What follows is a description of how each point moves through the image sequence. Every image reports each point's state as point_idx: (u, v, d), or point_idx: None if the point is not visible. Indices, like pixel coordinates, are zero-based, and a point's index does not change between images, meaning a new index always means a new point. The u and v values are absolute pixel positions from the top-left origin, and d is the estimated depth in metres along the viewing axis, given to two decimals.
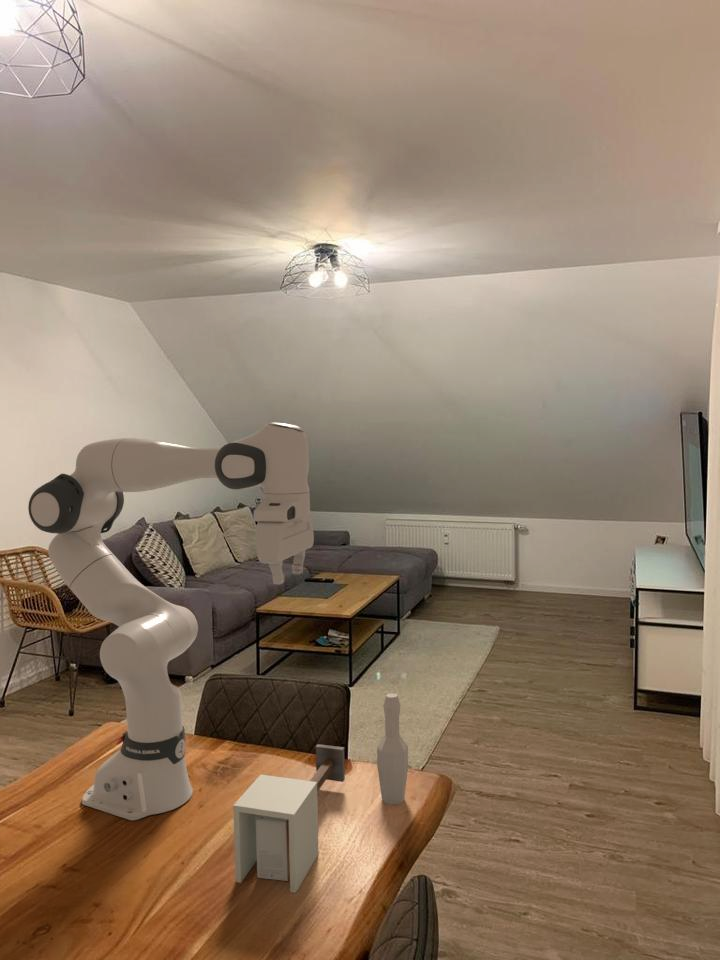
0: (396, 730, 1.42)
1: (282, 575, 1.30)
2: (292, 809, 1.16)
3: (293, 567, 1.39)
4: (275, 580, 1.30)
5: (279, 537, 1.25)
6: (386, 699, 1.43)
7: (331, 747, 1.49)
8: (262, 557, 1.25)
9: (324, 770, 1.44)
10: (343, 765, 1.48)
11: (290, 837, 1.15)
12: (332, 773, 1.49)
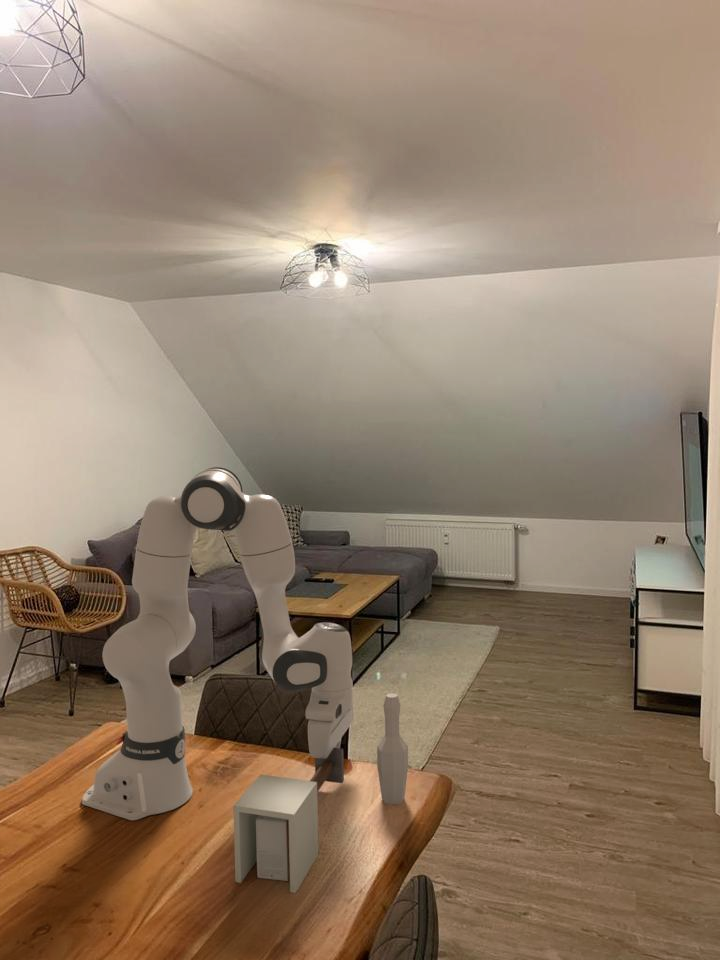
0: (396, 730, 1.42)
1: None
2: (292, 809, 1.16)
3: None
4: None
5: (329, 736, 1.42)
6: (386, 699, 1.43)
7: None
8: (313, 753, 1.42)
9: (323, 771, 1.43)
10: (342, 767, 1.48)
11: (290, 837, 1.15)
12: (331, 774, 1.48)
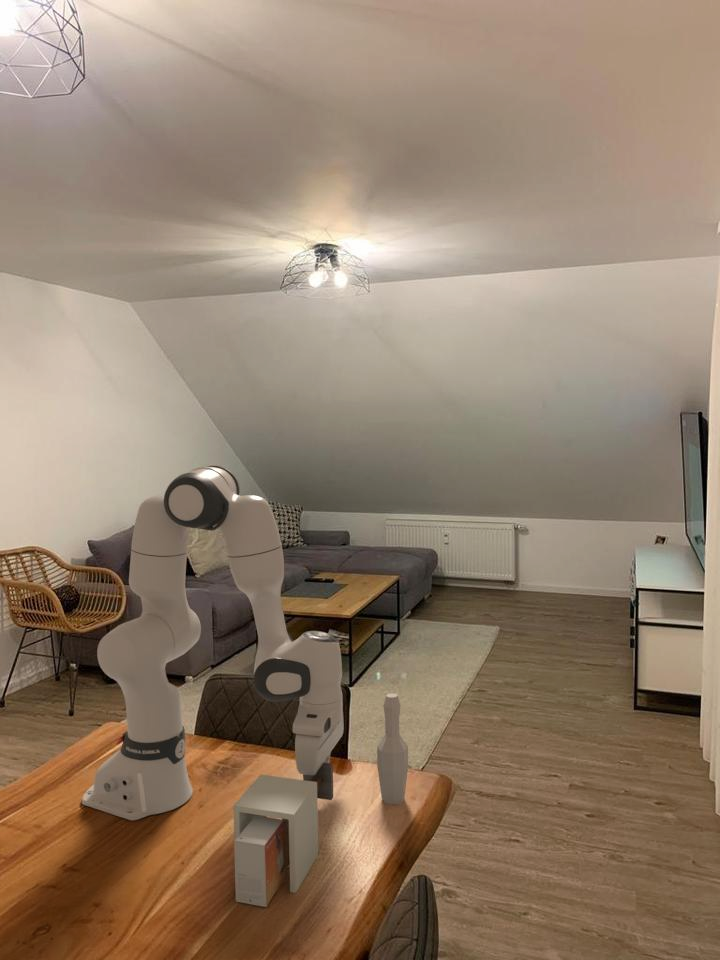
0: (396, 730, 1.42)
1: None
2: (292, 809, 1.16)
3: None
4: None
5: (317, 751, 1.35)
6: (386, 699, 1.43)
7: None
8: (301, 770, 1.35)
9: None
10: (331, 783, 1.41)
11: (290, 837, 1.15)
12: (320, 791, 1.41)
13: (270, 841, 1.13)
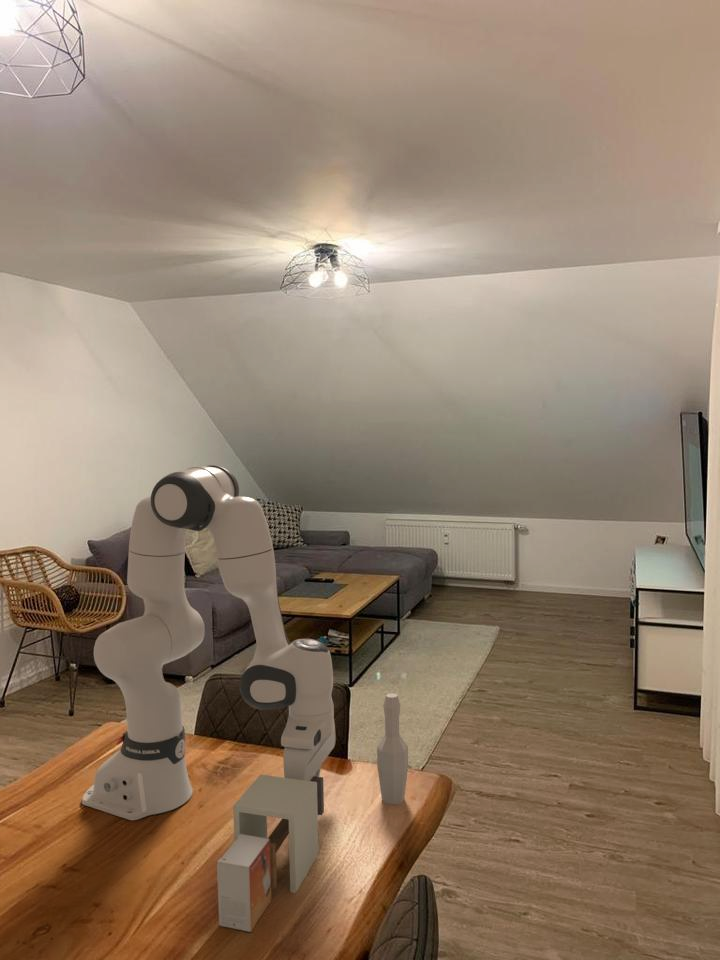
0: (396, 731, 1.42)
1: None
2: (292, 809, 1.16)
3: None
4: None
5: (307, 765, 1.29)
6: (386, 699, 1.43)
7: None
8: None
9: None
10: (322, 797, 1.35)
11: (290, 837, 1.15)
12: None
13: (255, 862, 1.08)
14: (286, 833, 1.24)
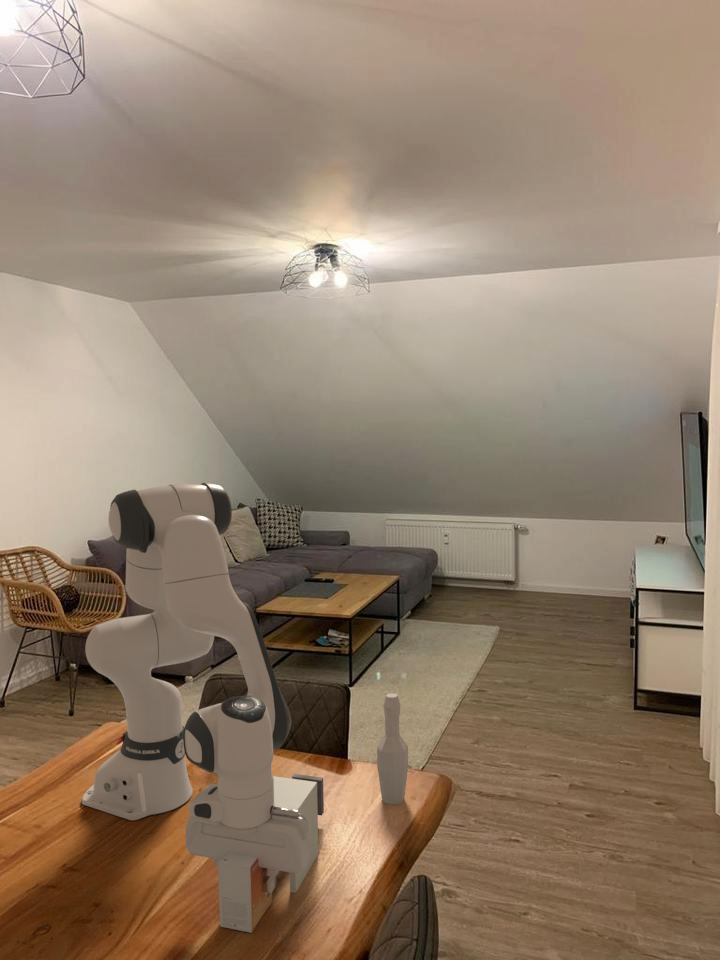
0: (396, 730, 1.42)
1: None
2: None
3: None
4: None
5: (188, 829, 1.11)
6: (386, 699, 1.43)
7: (309, 777, 1.36)
8: None
9: None
10: (322, 797, 1.35)
11: None
12: None
13: (256, 863, 1.08)
14: None
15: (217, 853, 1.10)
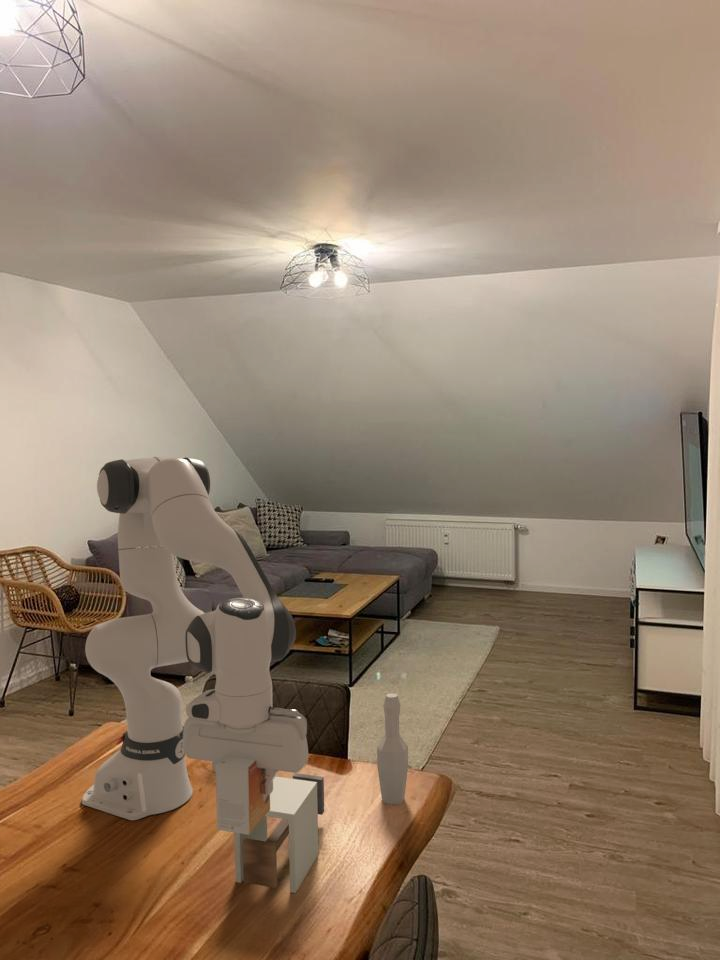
0: (396, 730, 1.42)
1: None
2: (292, 809, 1.16)
3: None
4: None
5: (185, 731, 1.10)
6: (386, 699, 1.43)
7: (309, 777, 1.36)
8: None
9: None
10: (322, 797, 1.36)
11: (290, 837, 1.15)
12: None
13: (254, 765, 1.07)
14: (286, 832, 1.24)
15: (215, 755, 1.09)
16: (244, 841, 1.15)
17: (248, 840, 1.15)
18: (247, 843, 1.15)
